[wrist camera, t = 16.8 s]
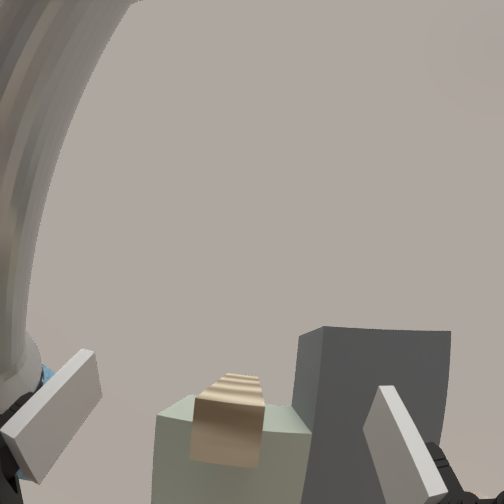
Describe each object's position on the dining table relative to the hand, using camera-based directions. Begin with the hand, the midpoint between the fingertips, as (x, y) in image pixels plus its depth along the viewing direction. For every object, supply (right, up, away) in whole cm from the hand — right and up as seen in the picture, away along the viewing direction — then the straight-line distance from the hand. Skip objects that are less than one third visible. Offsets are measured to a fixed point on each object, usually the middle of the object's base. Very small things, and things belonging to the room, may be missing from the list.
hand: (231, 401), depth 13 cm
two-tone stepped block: (+4, -31, +13) cm, 34 cm away
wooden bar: (-1, -9, +14) cm, 17 cm away
